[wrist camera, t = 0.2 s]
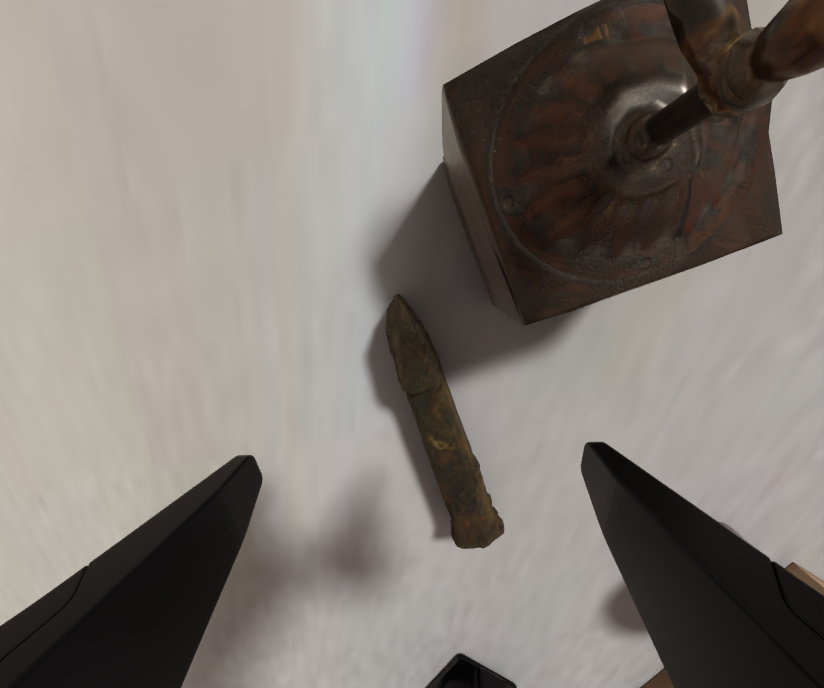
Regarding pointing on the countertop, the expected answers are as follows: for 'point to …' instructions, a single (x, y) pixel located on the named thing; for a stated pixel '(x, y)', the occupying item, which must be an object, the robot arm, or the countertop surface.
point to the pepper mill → (621, 146)
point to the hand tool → (441, 430)
